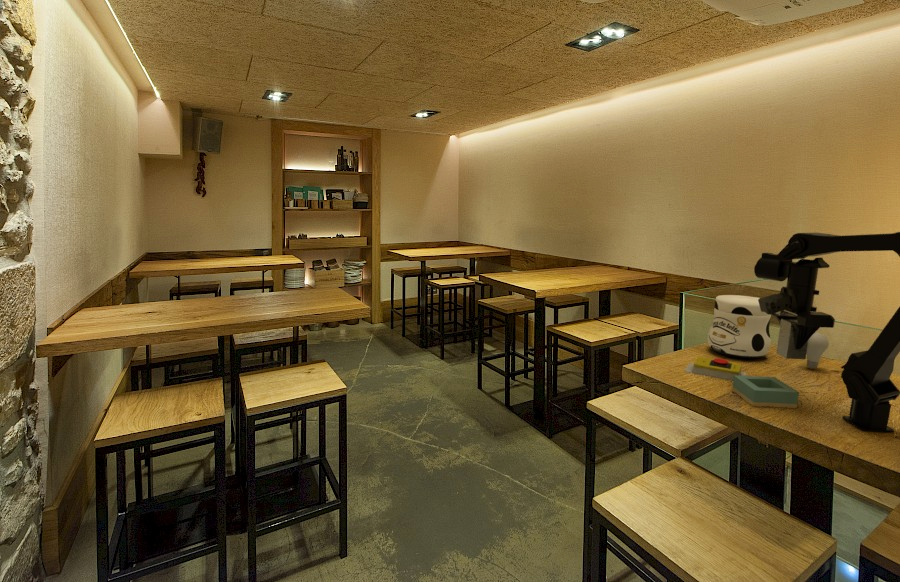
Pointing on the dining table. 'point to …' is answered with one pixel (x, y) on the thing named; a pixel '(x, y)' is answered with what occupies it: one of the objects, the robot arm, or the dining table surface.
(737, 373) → the emergency button
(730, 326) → the milk container
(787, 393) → the socket block
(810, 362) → the lightbulb
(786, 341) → the grey rectangular block
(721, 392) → the dining table surface
